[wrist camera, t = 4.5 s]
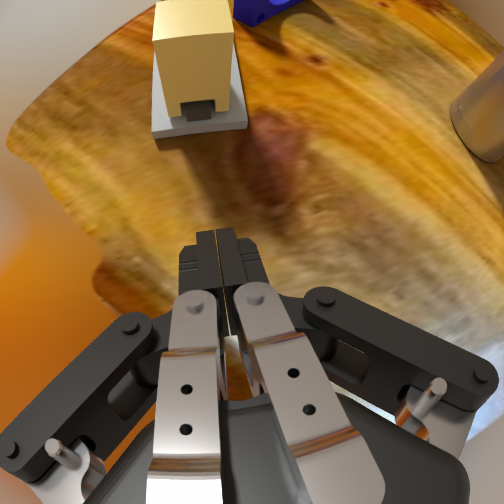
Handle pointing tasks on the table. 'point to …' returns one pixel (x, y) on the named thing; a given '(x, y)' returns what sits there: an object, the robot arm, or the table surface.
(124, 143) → the table surface
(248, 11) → the blue stepped block
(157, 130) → the comb board
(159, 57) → the pale yellow block
